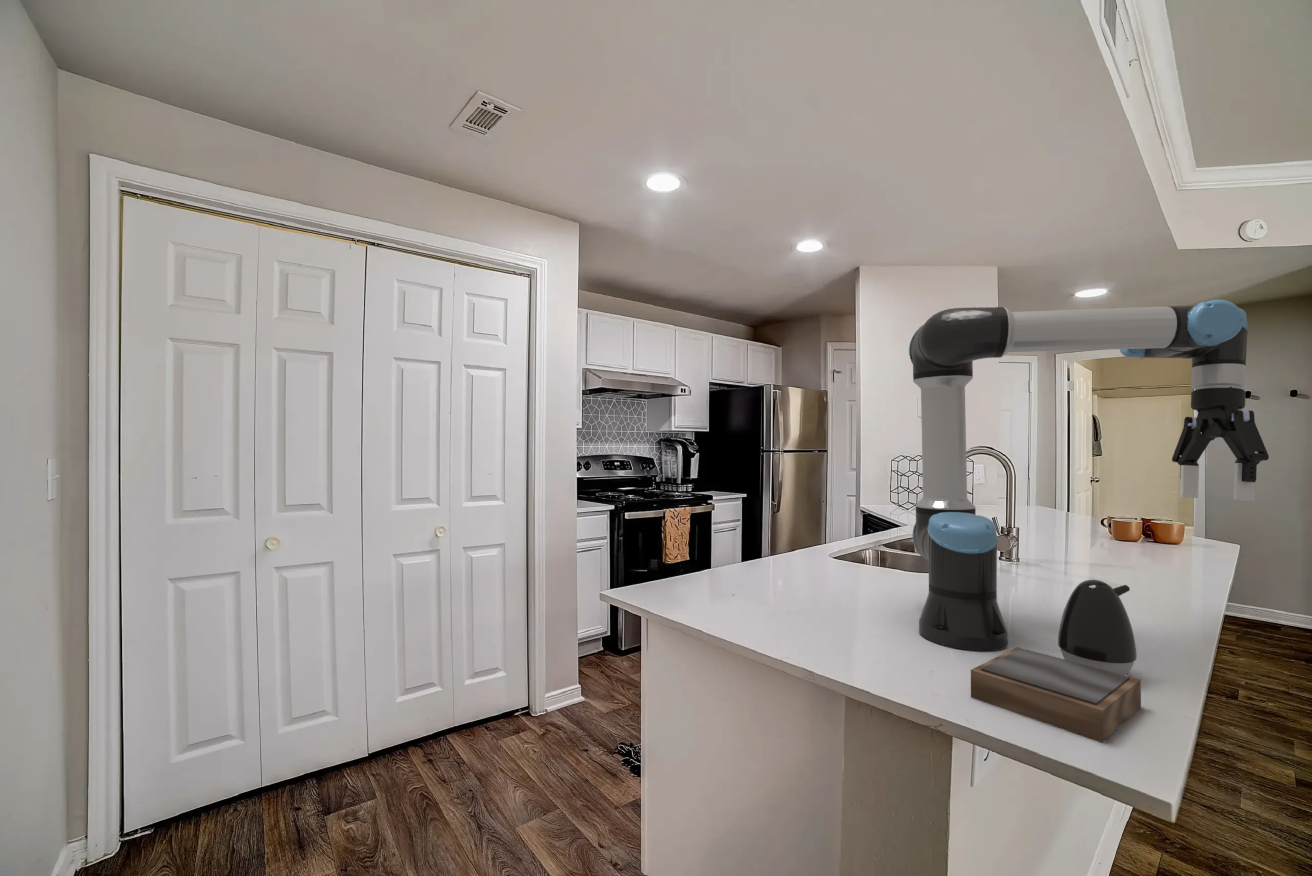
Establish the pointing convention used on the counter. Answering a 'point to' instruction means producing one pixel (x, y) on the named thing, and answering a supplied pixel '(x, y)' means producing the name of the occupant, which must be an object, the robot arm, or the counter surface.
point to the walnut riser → (1058, 692)
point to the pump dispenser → (1097, 628)
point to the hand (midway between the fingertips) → (1214, 499)
